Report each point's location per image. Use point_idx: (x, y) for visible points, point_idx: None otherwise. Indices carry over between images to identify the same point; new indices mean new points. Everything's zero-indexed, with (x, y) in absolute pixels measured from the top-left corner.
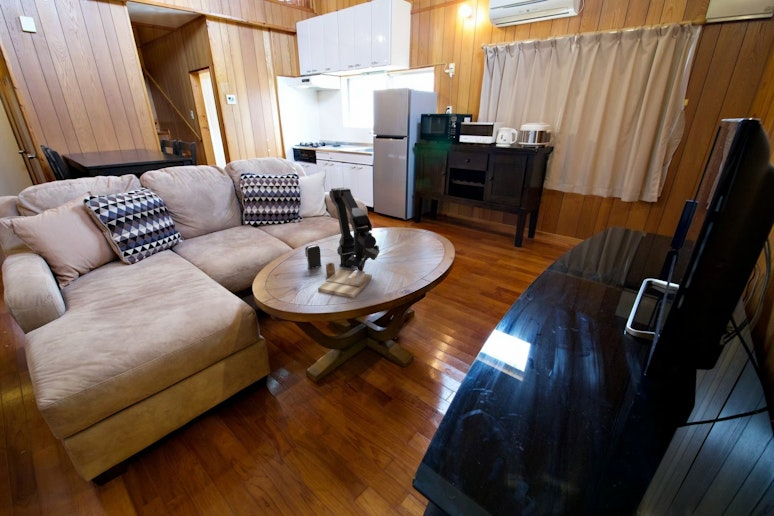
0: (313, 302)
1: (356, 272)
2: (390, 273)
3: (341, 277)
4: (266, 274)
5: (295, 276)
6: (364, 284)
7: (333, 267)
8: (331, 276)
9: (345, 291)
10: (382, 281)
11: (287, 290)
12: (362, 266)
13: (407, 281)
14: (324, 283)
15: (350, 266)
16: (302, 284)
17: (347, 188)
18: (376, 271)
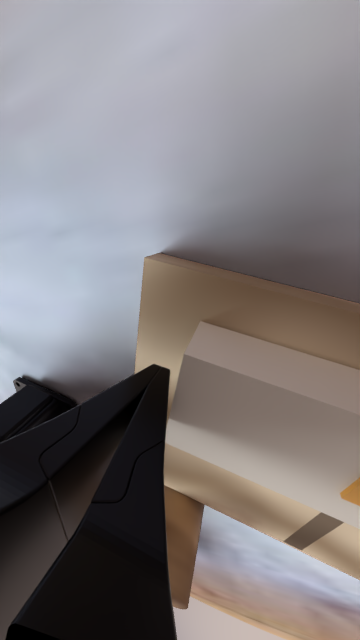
0: None
1: (221, 441)
2: (3, 21)
3: (235, 477)
4: (208, 603)
5: (212, 567)
6: (356, 306)
7: (174, 560)
8: (224, 512)
9: None
10: (236, 62)
11: (351, 624)
12: (148, 453)
13: None
14: (333, 563)
15: (65, 405)
16: (289, 578)
17: None
18: (41, 227)
